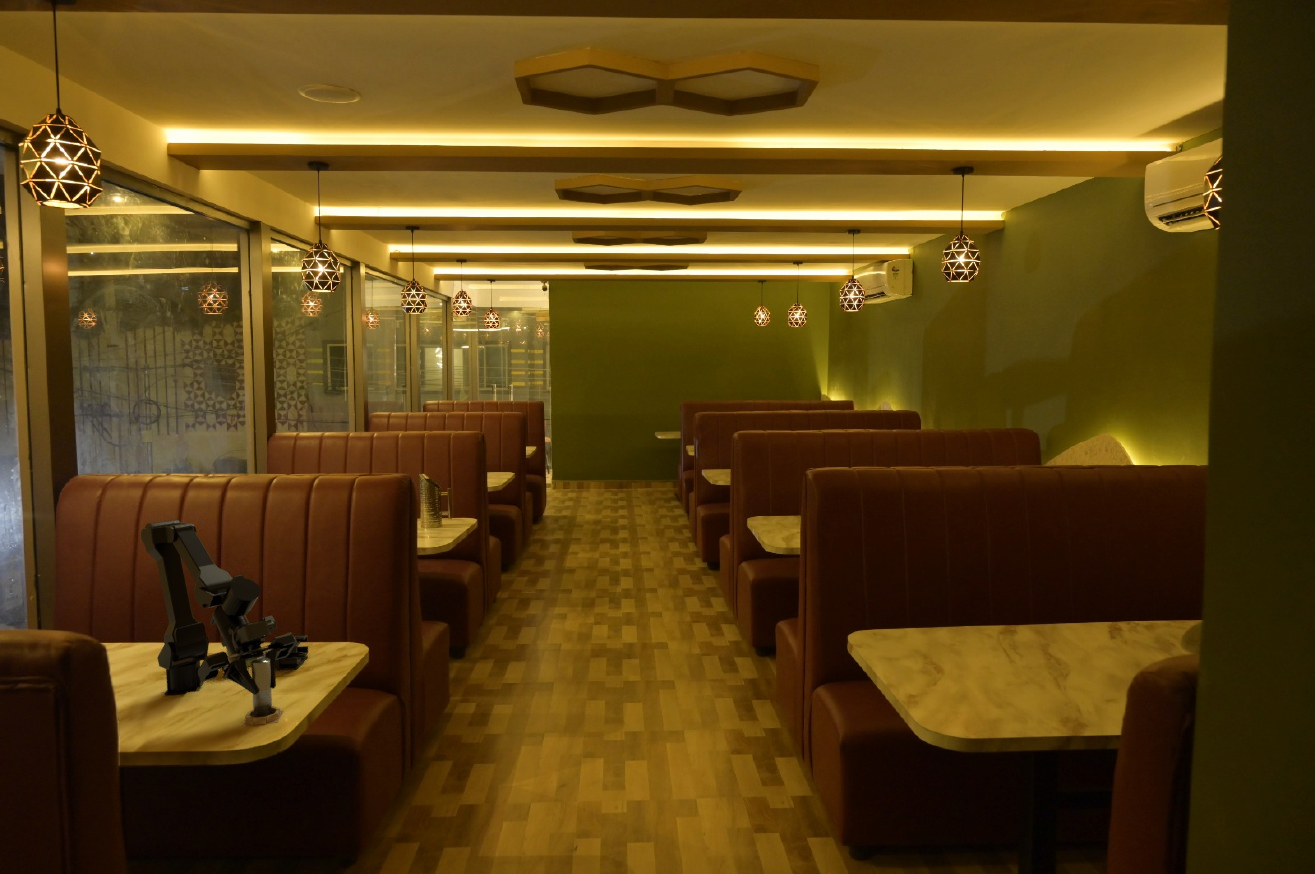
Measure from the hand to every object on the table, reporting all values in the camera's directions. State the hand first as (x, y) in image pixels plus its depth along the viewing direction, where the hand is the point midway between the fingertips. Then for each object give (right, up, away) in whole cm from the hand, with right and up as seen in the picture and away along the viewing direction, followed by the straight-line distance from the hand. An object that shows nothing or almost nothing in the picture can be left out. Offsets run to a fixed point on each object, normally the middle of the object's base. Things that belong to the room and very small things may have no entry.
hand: (265, 690), depth 169 cm
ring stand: (-1, -7, +1) cm, 7 cm away
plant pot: (-23, -5, +37) cm, 44 cm away
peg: (-1, -6, +1) cm, 6 cm away
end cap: (-12, -5, +37) cm, 39 cm away
